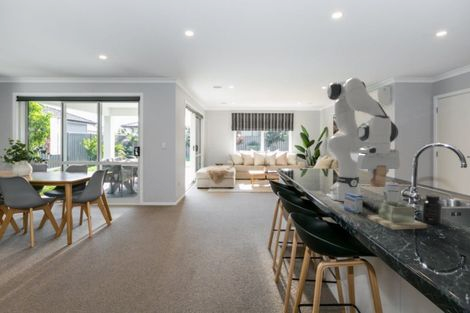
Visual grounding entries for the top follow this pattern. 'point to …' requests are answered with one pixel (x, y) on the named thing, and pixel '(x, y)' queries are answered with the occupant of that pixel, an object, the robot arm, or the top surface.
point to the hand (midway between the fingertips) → (377, 178)
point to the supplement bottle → (432, 210)
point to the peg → (379, 176)
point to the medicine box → (353, 202)
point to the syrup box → (391, 192)
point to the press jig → (396, 216)
